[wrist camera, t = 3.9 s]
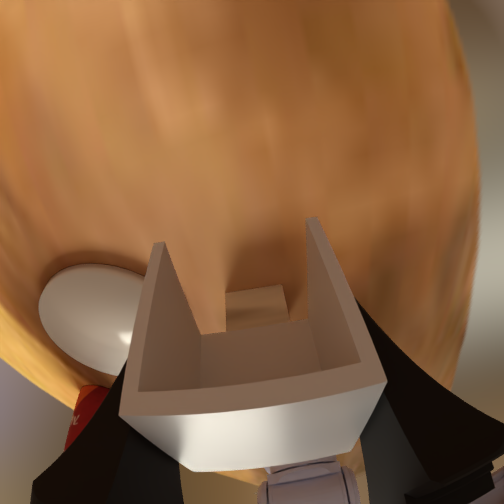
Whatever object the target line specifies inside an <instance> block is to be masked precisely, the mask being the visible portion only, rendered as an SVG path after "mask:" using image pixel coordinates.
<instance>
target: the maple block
mask: <svg viewBox="0 0 504 504" xmlns="http://www.w3.org/2000/svg"><path fill="white" fill-rule="evenodd" d="M225 305H226V332H227V331H235V330H242V329H248V328H255V327H262V326H268V325H274V324H280V323H286V322H290V318H289V313H288V309H287V305H286V300H285V296H284V291H283V287H282V284H280V285H274V286H267V287H261V288H255V289H248V290H242V291H235V292H229V293H225Z"/></svg>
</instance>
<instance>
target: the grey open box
mask: <svg viewBox="0 0 504 504" xmlns="http://www.w3.org/2000/svg"><path fill="white" fill-rule="evenodd" d="M305 221H306V246H307V282H308V319H303V320H298V321H292V322H286V323H280V324H274V325H268V326H262V327H255V328H248V329H242V330H235V331H227V332H220V333H212V334H204V335H201V334H200V331H199V329H198V327H197V324H196V322H195V319H194V317H193V315H192V312H191V310H190V307H189V305H188V302H187V300H186V297H185V295H184V292H183V289H182V287H181V284H180V282H179V279H178V276H177V274H176V271H175V269H174V266H173V263H172V260H171V258H170V255H169V252H168V250H167V247H166V244H165V241H164V242H158V243H154V244H153V248H152V252H151V255H150V259H149V263H148V267H147V271H146V275H145V279H144V283H143V287H142V292H141V296H140V300H139V305H138V309H137V314H136V318H135V323H134V328H133V333H132V338H131V343H130V348H129V353H128V359H127V364H126V370H125V376H124V382H123V388H122V395H121V402H120V409H119V416H120V417H121V418H122V419H123V420H124V421H126V422H127V423H128V424H129V425H130V426H132V427H133V428H134V429H135V430H136V431H138V432H139V433H140V434H141V435H143V436H144V437H145V438H147V439H148V440H149V441H150V442H152V443H153V444H154V445H156V446H157V447H158V448H160V449H161V450H162V451H164V452H165V453H167V454H168V455H169V456H171V457H172V458H174V459H175V460H177V461H178V462H179V463H181V464H182V465H184V466H185V467H187V468H188V469H190V470H192V471H193V472H210V471H229V470H242V469H253V468H262V467H270V466H278V465H285V464H291V463H297V462H303V461H308V460H314V459H319V458H324V457H328V456H333V455H337V454H341V453H345V452H349V451H351V450H352V448H353V447H354V445H355V443H356V441H357V440H358V438H359V436H360V434H361V433H362V431H363V429H364V427H365V425H366V423H367V422H368V420H369V418H370V416H371V414H372V412H373V410H374V408H375V406H376V404H377V402H378V400H379V398H380V396H381V394H382V392H383V390H384V388H385V386H386V383H387V378H386V376H385V373H384V370H383V368H382V365H381V362H380V360H379V357H378V354H377V352H376V349H375V347H374V344H373V342H372V339H371V337H370V334H369V332H368V329H367V327H366V324H365V322H364V320H363V317H362V315H361V312H360V310H359V308H358V305H357V303H356V301H355V298H354V296H353V294H352V291H351V289H350V287H349V284H348V282H347V280H346V278H345V275H344V273H343V271H342V269H341V267H340V264H339V262H338V260H337V258H336V256H335V254H334V251H333V249H332V247H331V245H330V243H329V241H328V239H327V236H326V234H325V232H324V230H323V228H322V226H321V224H320V222H319V220H318V218H317V217H311V218H305Z"/></svg>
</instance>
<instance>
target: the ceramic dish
mask: <svg viewBox="0 0 504 504" xmlns="http://www.w3.org/2000/svg"><path fill="white" fill-rule="evenodd" d="M144 279H145V277H144V276H142V275H140V274H137V273H135V272H132V271H130V270H127V269H123V268H120V267H116V266H111V265H106V264H80V265H74V266H71V267H67V268H65V269H63V270H61V271H59V272H58V273H56V274H55V275H54V276H52V278H51V279H50V280H49V281H48V283H47V285H46V287H45V288H44V290H43V292H42V294H41V296H40V300H39V316H40V319H41V322H42V324H43V327H44V329H45V330H46V332H47V334H48V335H49V336H50V338H51V339H52V340H53V341H54V342H55V344H56V345H57V346H58V347H59V348H61V349H62V350H63V351H64V352H65V353H67V354H68V355H69V356H71V357H72V358H74V359H75V360H77V361H78V362H80V363H82V364H84V365H86V366H88V367H90V368H93V369H95V370H98V371H101V372H104V373H107V374H111V375H116V376H118V375H119V373H120V371H121V369H122V367H123V365H124V364H125V362H126V360H127V358H128V353H129V348H130V343H131V338H132V333H133V328H134V323H135V318H136V314H137V309H138V305H139V300H140V296H141V292H142V287H143V283H144Z"/></svg>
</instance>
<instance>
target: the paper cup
mask: <svg viewBox="0 0 504 504" xmlns="http://www.w3.org/2000/svg"><path fill="white" fill-rule="evenodd" d="M109 390H110V389H108V388H105V387H102V386H97V385H86V386H83V387H82V388H81V390H80V393H79V396H78V399H77V402H76V406H75V409H74V413H73V416H72V420H71V424H70V427H69V431H68V435H67V439H66V444H65V448H64V451H65V450H66V449H67V448H68V447H69V446H70V445H71V444H72V442H73V441H74V440H75V439H76V438H77V436H78V435H79V434H80V433H81V431H82V430H83V429H84V427H85V426H86V425H87V423H88V422H89V421H90V419H91V418H92V416H93V415H94V414H95V412H96V411H97V409H98V408H99V406H100V405H101V403H102V402H103V400H104V398H105V397H106V395H107V393H108V392H109Z"/></svg>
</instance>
